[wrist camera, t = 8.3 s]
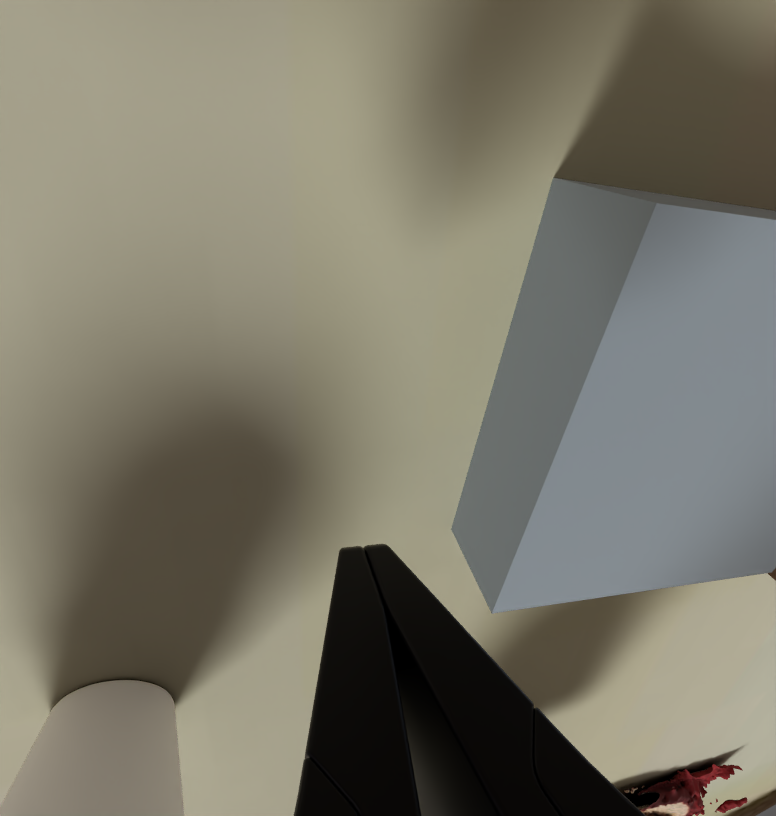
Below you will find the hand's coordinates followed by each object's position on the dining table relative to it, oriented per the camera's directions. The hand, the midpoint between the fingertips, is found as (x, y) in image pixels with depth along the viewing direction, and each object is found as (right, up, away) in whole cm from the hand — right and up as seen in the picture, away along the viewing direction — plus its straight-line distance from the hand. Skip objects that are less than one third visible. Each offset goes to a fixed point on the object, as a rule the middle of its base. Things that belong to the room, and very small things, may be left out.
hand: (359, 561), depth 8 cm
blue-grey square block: (+9, +4, +8) cm, 13 cm away
